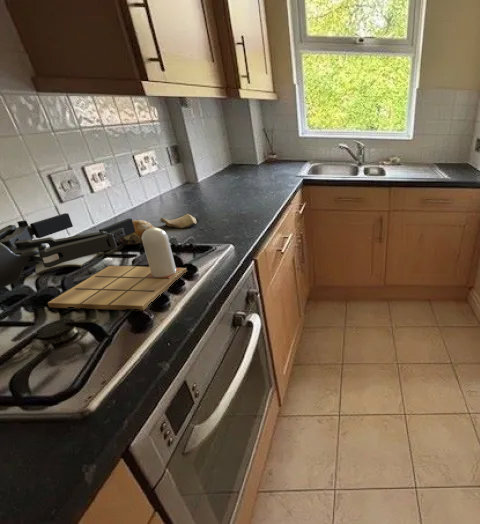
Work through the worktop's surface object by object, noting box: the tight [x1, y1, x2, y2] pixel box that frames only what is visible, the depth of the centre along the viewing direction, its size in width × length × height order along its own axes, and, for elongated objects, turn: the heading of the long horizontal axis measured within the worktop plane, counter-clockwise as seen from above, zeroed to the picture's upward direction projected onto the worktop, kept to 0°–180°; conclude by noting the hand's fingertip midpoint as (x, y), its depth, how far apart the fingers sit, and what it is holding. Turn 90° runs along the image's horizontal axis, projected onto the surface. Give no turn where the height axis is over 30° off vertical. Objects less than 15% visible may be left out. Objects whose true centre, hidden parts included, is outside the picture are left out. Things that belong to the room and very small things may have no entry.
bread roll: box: [119, 219, 156, 245], centre depth 104 cm, size 10×10×8 cm
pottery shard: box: [159, 213, 198, 229], centre depth 118 cm, size 11×4×10 cm
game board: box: [47, 265, 188, 311], centre depth 78 cm, size 20×18×1 cm
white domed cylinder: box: [141, 227, 177, 277], centre depth 80 cm, size 5×5×12 cm
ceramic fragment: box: [34, 252, 102, 275], centre depth 86 cm, size 14×5×4 cm, turn 141°
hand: (100, 222), depth 65 cm, fingers open, 13 cm apart
